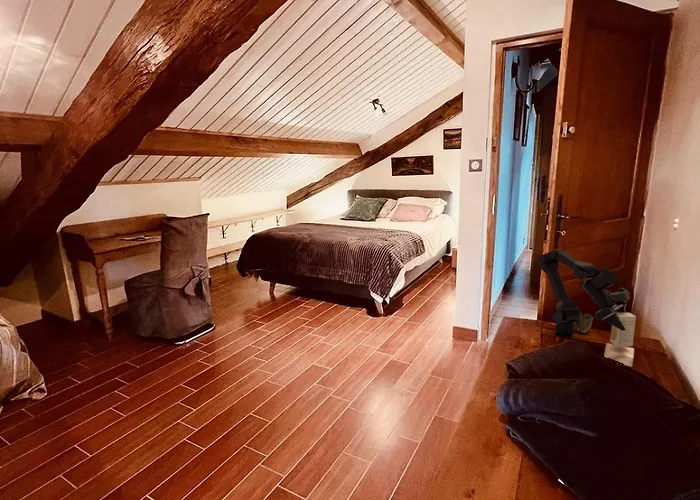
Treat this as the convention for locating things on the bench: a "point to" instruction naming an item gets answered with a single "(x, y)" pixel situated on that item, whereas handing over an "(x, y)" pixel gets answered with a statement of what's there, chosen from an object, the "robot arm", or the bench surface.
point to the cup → (584, 323)
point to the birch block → (620, 354)
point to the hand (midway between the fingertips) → (627, 327)
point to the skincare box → (628, 334)
